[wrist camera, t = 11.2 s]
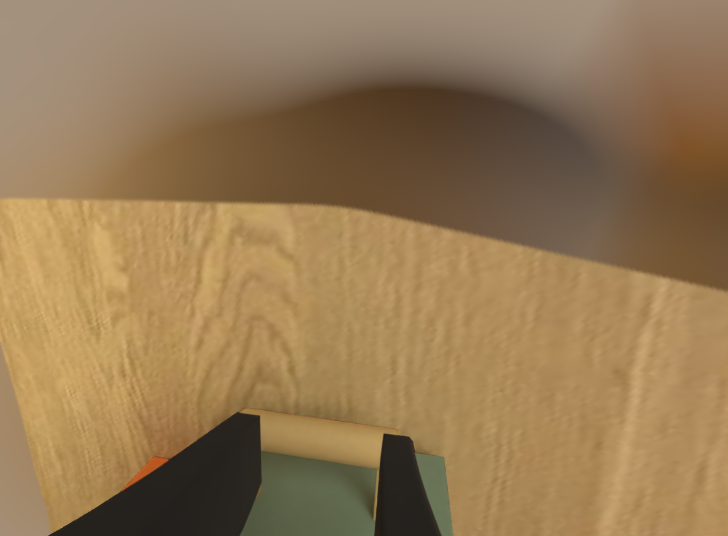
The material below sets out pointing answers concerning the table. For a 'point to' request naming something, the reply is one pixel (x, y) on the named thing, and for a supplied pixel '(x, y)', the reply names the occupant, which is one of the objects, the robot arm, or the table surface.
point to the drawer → (328, 478)
